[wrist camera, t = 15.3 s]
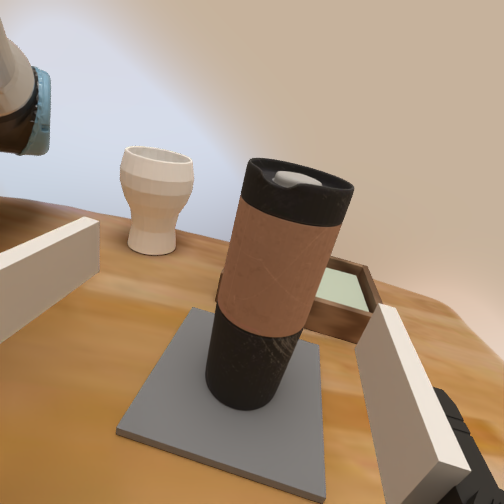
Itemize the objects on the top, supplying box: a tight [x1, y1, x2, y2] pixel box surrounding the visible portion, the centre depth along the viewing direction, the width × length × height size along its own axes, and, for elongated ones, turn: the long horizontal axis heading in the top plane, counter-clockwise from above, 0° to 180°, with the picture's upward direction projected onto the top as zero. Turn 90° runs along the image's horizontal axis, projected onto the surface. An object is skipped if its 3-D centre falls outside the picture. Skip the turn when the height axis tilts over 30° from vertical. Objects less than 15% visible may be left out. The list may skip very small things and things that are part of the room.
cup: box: [120, 146, 194, 255], centre depth 47 cm, size 11×11×15 cm
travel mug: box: [205, 158, 354, 411], centre depth 24 cm, size 8×8×20 cm
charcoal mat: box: [116, 307, 326, 504], centre depth 29 cm, size 16×16×1 cm
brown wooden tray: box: [215, 256, 383, 344], centre depth 45 cm, size 22×16×4 cm
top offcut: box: [315, 268, 369, 312], centre depth 45 cm, size 8×11×1 cm
